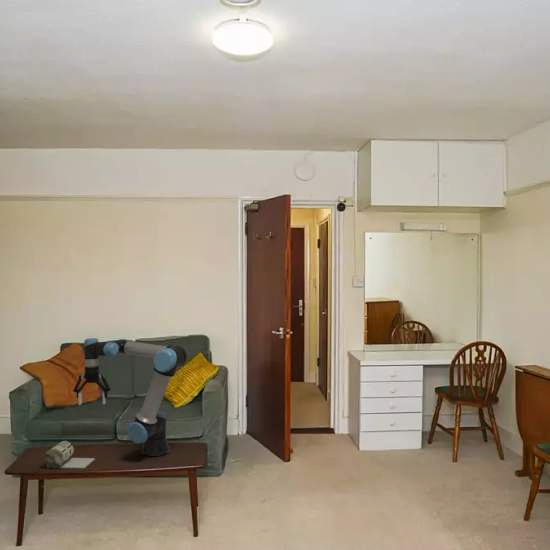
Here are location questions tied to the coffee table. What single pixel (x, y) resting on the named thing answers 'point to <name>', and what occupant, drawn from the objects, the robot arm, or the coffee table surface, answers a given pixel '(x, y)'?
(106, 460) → the coffee table surface
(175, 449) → the coffee table surface
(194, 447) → the coffee table surface
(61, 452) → the coffee can
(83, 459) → the mat
